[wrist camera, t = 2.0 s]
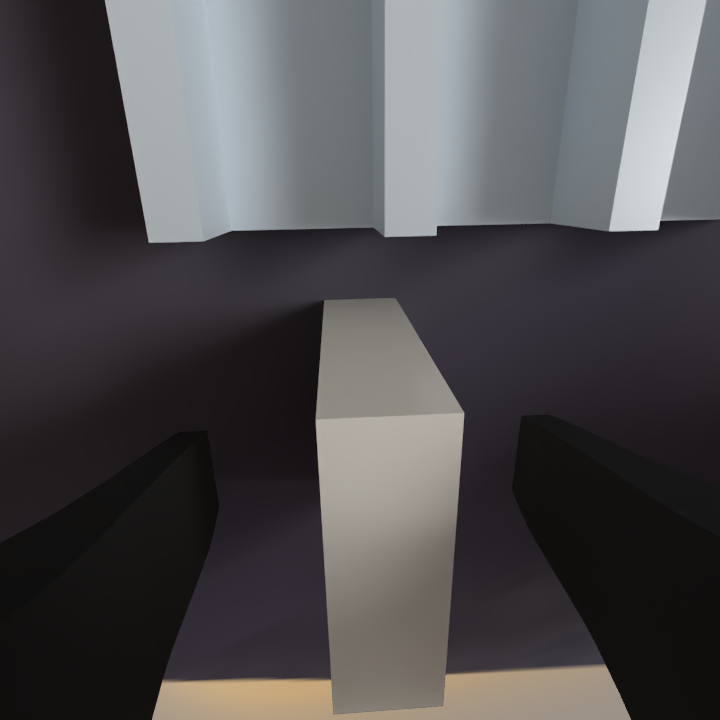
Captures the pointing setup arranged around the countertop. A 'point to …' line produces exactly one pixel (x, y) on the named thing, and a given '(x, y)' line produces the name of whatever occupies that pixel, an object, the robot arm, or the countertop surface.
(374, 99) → the drying rack
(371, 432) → the cream tile
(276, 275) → the countertop surface
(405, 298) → the countertop surface
